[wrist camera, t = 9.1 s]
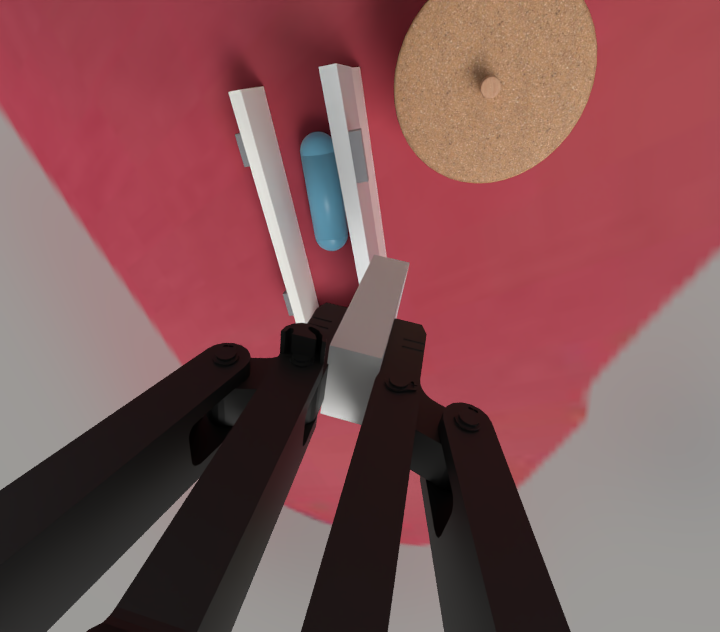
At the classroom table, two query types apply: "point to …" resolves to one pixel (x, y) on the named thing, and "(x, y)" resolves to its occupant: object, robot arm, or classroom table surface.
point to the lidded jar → (493, 83)
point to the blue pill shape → (324, 191)
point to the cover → (350, 161)
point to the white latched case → (275, 193)
